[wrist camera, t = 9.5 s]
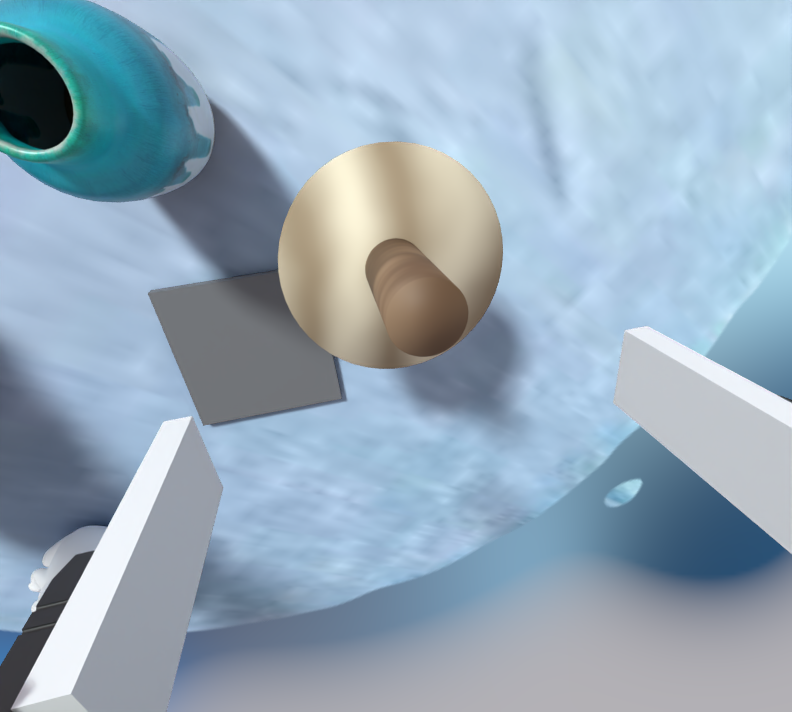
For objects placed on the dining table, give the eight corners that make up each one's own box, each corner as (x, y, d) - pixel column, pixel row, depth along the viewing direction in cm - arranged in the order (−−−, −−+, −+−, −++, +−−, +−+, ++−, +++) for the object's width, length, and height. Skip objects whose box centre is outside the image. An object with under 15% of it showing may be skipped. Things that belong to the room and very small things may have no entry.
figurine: (110, 499, 51) (57, 591, 40) (168, 541, 55) (134, 634, 45) (46, 536, 52) (-23, 636, 41) (109, 574, 56) (61, 673, 46)
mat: (205, 420, 48) (203, 425, 47) (151, 290, 41) (147, 293, 40) (341, 394, 50) (341, 398, 49) (313, 264, 42) (313, 266, 41)
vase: (253, 136, 36) (200, 127, 20) (167, 212, 38) (49, 265, 21) (151, 9, 32) (-36, -148, 15) (57, 102, 33) (-210, 57, 16)
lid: (306, 377, 31) (302, 470, 22) (252, 158, 24) (214, 165, 15) (495, 343, 33) (563, 417, 24) (496, 127, 26) (594, 118, 17)
